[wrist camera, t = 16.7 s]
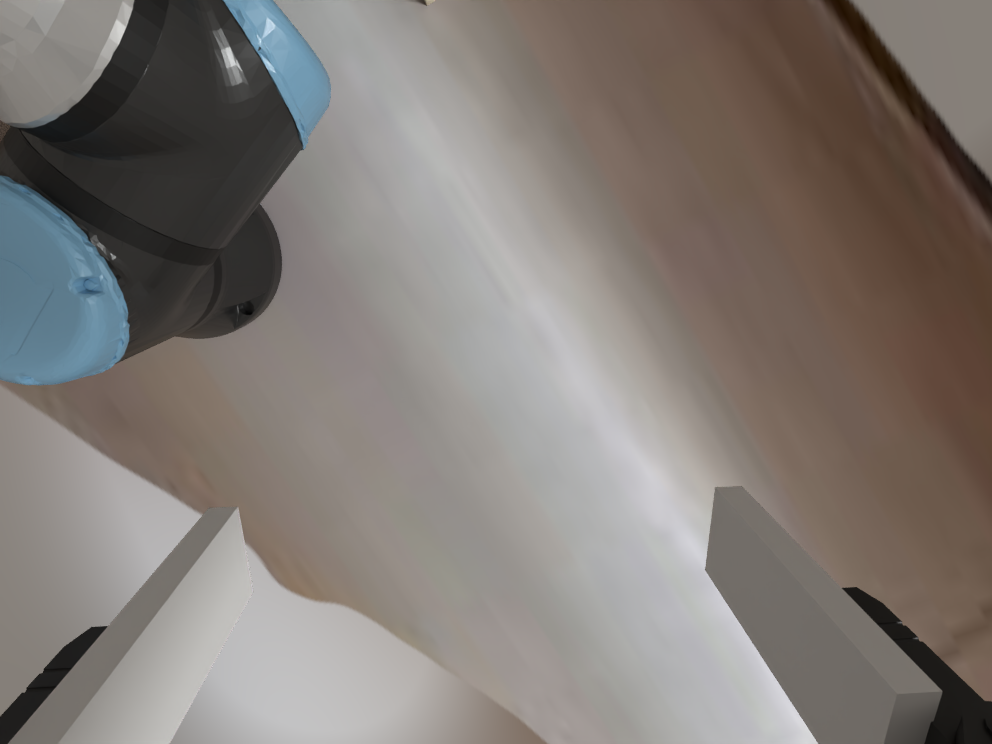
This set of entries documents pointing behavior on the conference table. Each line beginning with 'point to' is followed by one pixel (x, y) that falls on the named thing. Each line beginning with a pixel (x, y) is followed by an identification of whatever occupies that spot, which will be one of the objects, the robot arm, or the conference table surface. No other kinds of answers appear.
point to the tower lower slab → (429, 1)
